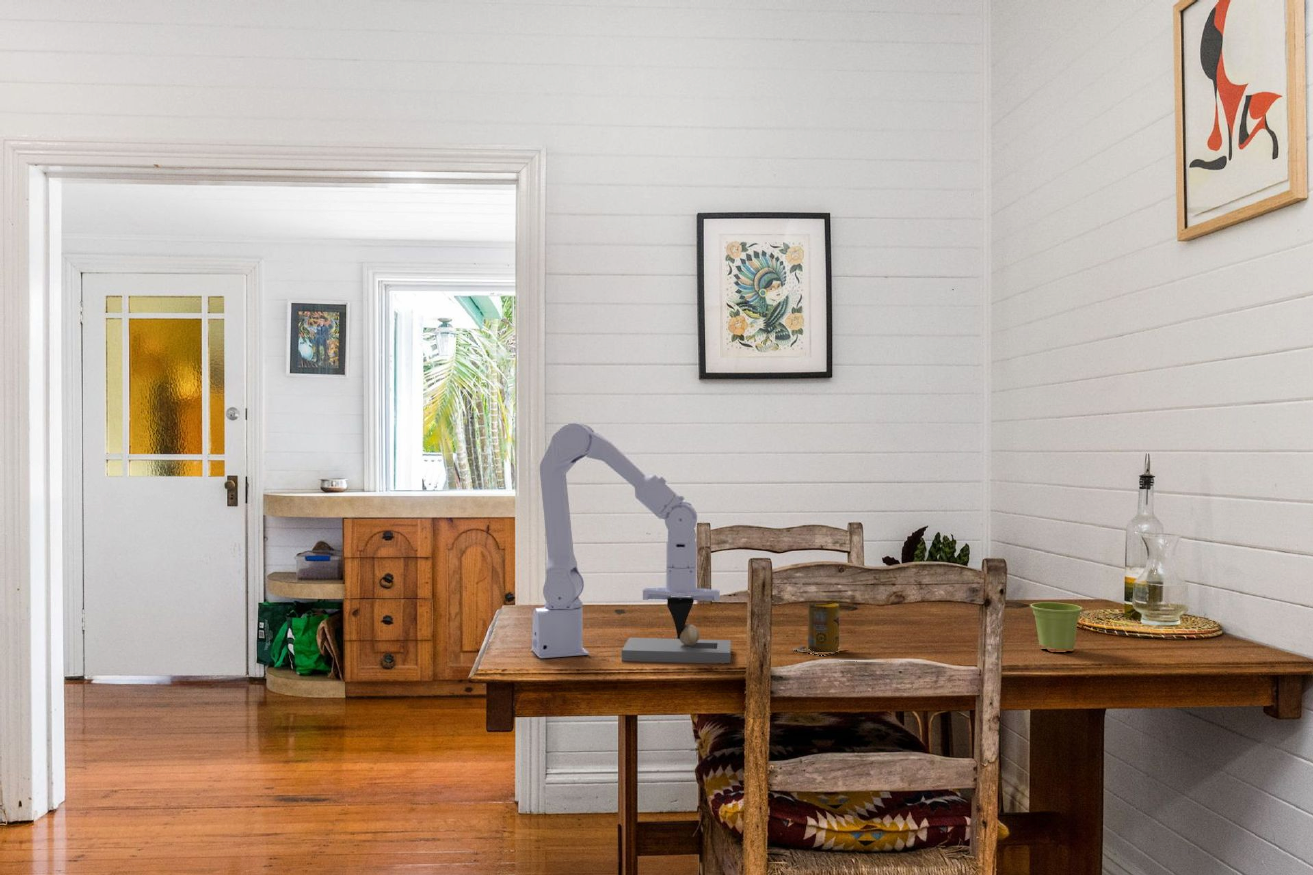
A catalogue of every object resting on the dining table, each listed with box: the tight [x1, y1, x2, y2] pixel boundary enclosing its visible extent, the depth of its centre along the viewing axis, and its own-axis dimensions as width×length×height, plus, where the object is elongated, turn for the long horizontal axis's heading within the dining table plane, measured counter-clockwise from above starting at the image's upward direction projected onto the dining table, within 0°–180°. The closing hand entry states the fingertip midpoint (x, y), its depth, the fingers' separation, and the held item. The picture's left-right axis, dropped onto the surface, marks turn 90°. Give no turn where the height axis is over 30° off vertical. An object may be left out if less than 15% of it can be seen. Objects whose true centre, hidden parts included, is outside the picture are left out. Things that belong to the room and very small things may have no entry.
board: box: [621, 637, 732, 665], centre depth 171 cm, size 20×11×2 cm, turn 85°
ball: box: [679, 623, 700, 646], centre depth 171 cm, size 4×4×4 cm
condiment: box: [792, 603, 840, 657], centre depth 176 cm, size 7×8×12 cm
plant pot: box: [1029, 601, 1083, 649], centre depth 177 cm, size 9×9×9 cm
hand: (680, 638), depth 171 cm, fingers closed, pressing on ball
